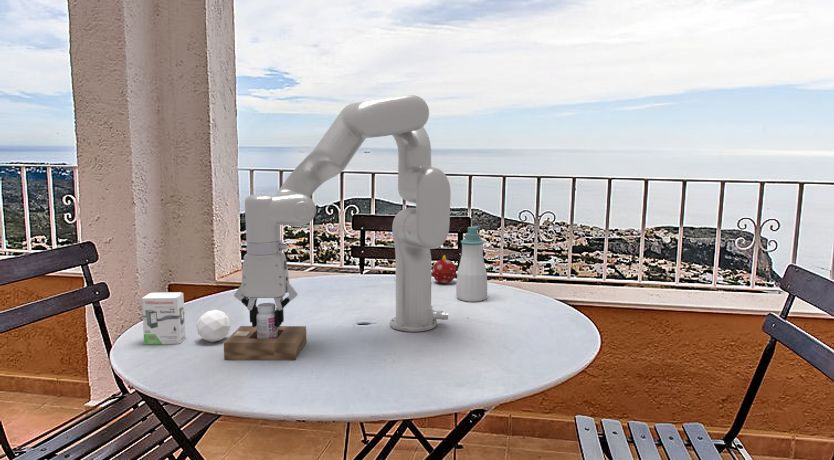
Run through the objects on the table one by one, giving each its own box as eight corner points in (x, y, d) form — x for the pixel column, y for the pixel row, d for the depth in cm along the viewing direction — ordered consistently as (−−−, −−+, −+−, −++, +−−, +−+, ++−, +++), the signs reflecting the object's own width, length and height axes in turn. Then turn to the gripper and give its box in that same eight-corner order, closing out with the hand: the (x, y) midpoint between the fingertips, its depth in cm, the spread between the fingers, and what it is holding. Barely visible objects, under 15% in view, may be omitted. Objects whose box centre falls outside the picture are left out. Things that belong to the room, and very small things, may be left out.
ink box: (143, 345, 136) (140, 297, 134) (151, 338, 141) (148, 292, 139) (179, 344, 136) (177, 297, 135) (186, 337, 141) (184, 291, 140)
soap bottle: (492, 297, 181) (493, 226, 177) (478, 304, 172) (479, 230, 169) (465, 293, 186) (465, 224, 183) (450, 299, 178) (451, 228, 174)
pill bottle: (272, 343, 129) (271, 308, 128) (253, 342, 130) (251, 307, 129) (281, 337, 134) (280, 302, 133) (263, 335, 135) (261, 301, 134)
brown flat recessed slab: (306, 342, 138) (306, 325, 138) (295, 360, 126) (294, 342, 126) (241, 341, 138) (240, 325, 138) (224, 359, 126) (223, 342, 126)
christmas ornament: (430, 285, 197) (430, 257, 195) (433, 280, 205) (433, 252, 204) (455, 286, 195) (455, 258, 194) (457, 280, 204) (457, 253, 202)
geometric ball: (207, 350, 140) (194, 322, 142) (238, 335, 143) (225, 308, 145) (201, 344, 133) (188, 315, 135) (234, 329, 136) (220, 300, 138)
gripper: (304, 245, 133) (306, 320, 135) (232, 245, 133) (236, 320, 135) (297, 251, 125) (299, 330, 128) (221, 251, 125) (225, 330, 128)
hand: (267, 324), depth 131 cm, fingers closed on pill bottle, 4 cm apart
